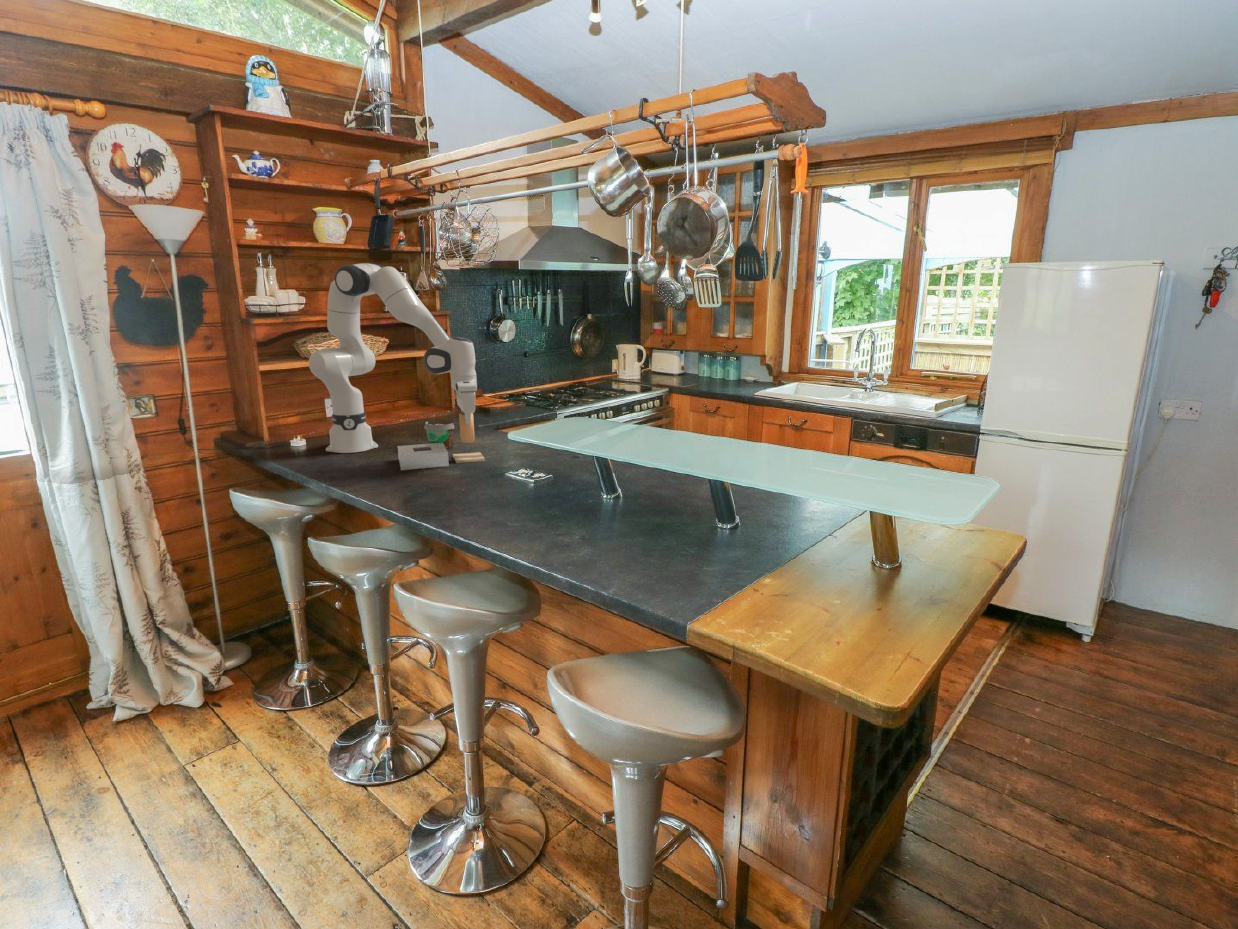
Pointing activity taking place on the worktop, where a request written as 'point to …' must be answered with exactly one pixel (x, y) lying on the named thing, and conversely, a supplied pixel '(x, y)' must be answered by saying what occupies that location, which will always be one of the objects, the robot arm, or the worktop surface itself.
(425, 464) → the housing
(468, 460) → the coaster
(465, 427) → the tan grey-topped cylinder
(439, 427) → the food container
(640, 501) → the worktop surface
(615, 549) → the worktop surface
